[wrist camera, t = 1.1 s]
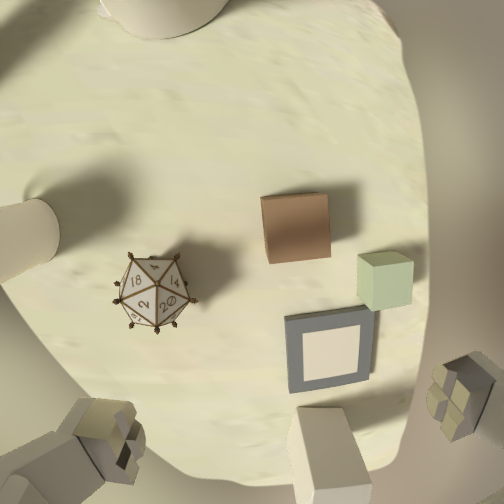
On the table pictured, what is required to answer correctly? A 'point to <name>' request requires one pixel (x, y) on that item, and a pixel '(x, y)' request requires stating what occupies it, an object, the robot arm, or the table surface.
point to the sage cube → (384, 280)
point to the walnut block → (296, 227)
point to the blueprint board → (329, 348)
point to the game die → (153, 291)
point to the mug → (26, 237)
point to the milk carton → (326, 459)
